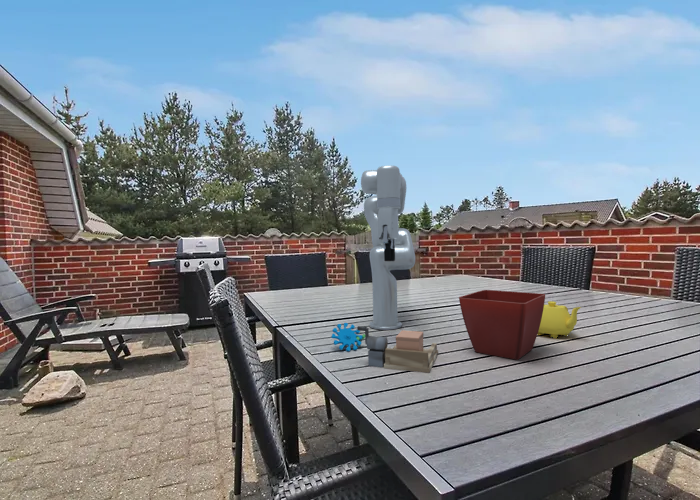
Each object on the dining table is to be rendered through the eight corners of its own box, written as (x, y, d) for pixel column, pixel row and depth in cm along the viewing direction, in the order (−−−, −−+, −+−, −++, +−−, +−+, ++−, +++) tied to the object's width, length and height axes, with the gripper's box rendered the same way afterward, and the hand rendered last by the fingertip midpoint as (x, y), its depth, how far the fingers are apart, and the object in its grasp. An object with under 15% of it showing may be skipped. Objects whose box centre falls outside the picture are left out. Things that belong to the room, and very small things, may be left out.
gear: (333, 348, 114) (331, 320, 121) (329, 358, 118) (327, 330, 125) (368, 350, 116) (364, 322, 123) (363, 359, 120) (359, 332, 127)
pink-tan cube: (402, 354, 108) (401, 330, 108) (423, 356, 106) (423, 331, 106) (396, 362, 101) (395, 336, 101) (419, 364, 99) (418, 338, 99)
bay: (373, 347, 119) (373, 315, 119) (438, 353, 112) (437, 319, 112) (355, 365, 103) (354, 328, 103) (429, 372, 96) (428, 333, 96)
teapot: (596, 338, 125) (596, 303, 124) (568, 344, 118) (568, 308, 118) (541, 325, 142) (541, 295, 142) (514, 331, 136) (514, 299, 135)
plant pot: (458, 352, 112) (457, 296, 112) (485, 339, 126) (484, 289, 126) (525, 366, 99) (524, 303, 99) (547, 349, 113) (546, 294, 113)
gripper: (383, 206, 131) (384, 259, 131) (370, 203, 117) (371, 262, 117) (405, 205, 128) (406, 259, 129) (394, 202, 114) (395, 262, 115)
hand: (389, 260), depth 123 cm, fingers closed
